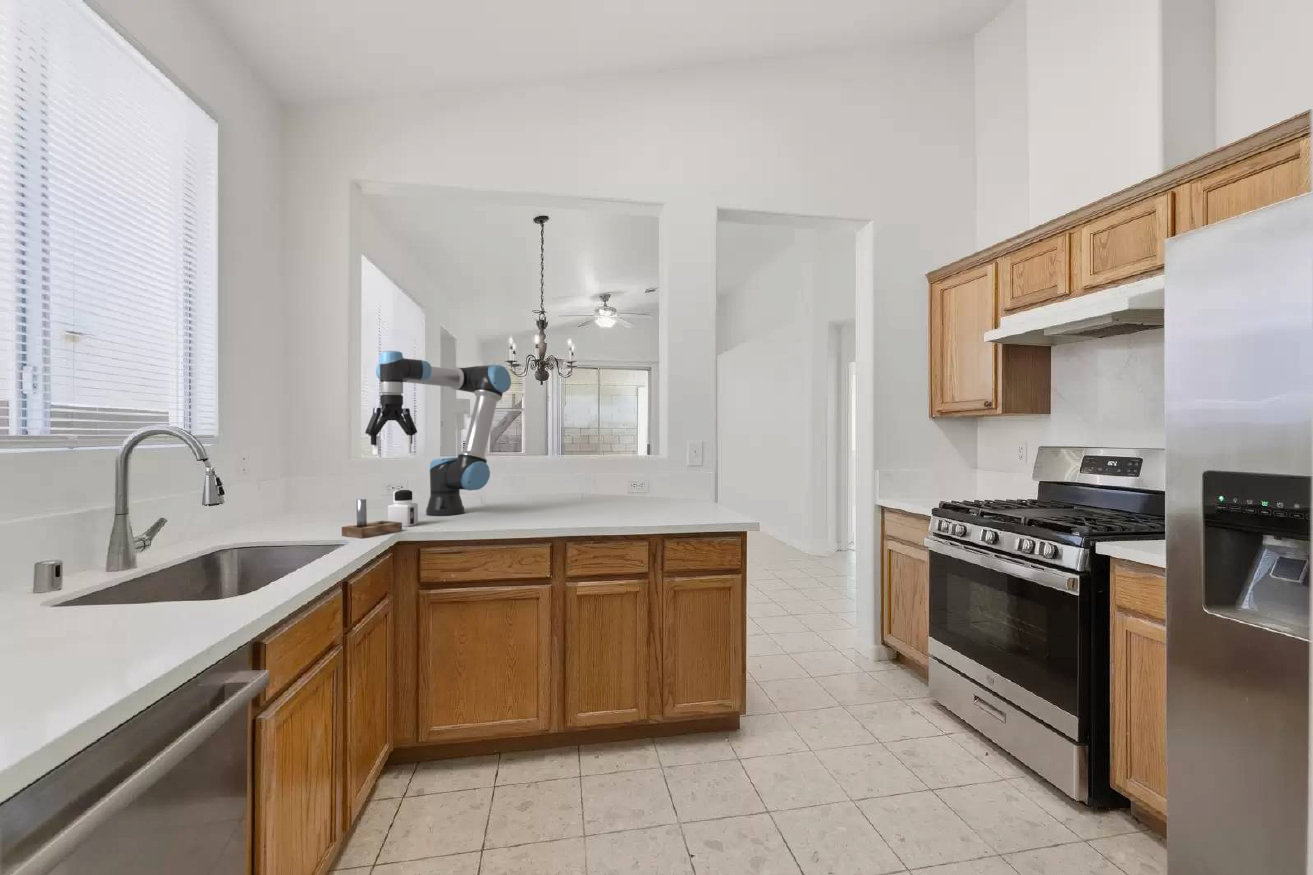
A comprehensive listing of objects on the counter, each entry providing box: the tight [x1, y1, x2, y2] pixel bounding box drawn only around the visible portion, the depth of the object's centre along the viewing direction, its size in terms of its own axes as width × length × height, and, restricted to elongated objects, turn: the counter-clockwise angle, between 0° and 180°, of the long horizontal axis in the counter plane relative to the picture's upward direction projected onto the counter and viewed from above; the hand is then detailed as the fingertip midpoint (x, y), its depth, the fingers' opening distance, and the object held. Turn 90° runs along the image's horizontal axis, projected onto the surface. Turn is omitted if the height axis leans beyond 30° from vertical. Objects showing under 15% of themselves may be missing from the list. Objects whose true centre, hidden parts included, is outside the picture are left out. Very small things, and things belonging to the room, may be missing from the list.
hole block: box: [341, 520, 403, 539], centre depth 214 cm, size 16×10×3 cm, turn 152°
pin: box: [356, 498, 368, 528], centre depth 210 cm, size 3×3×12 cm
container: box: [387, 489, 419, 528], centre depth 231 cm, size 8×8×13 cm
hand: (392, 453), depth 224 cm, fingers open, 13 cm apart
